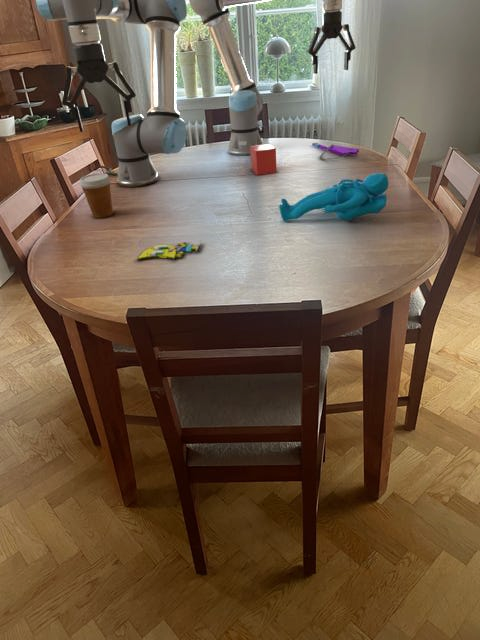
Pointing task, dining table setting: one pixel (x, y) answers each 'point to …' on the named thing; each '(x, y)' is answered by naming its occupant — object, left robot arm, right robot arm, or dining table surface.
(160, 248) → the toy
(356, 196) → the toy
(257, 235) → the dining table surface
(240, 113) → the right robot arm
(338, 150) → the musical instrument
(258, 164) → the brick
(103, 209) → the disposable coffee cup
